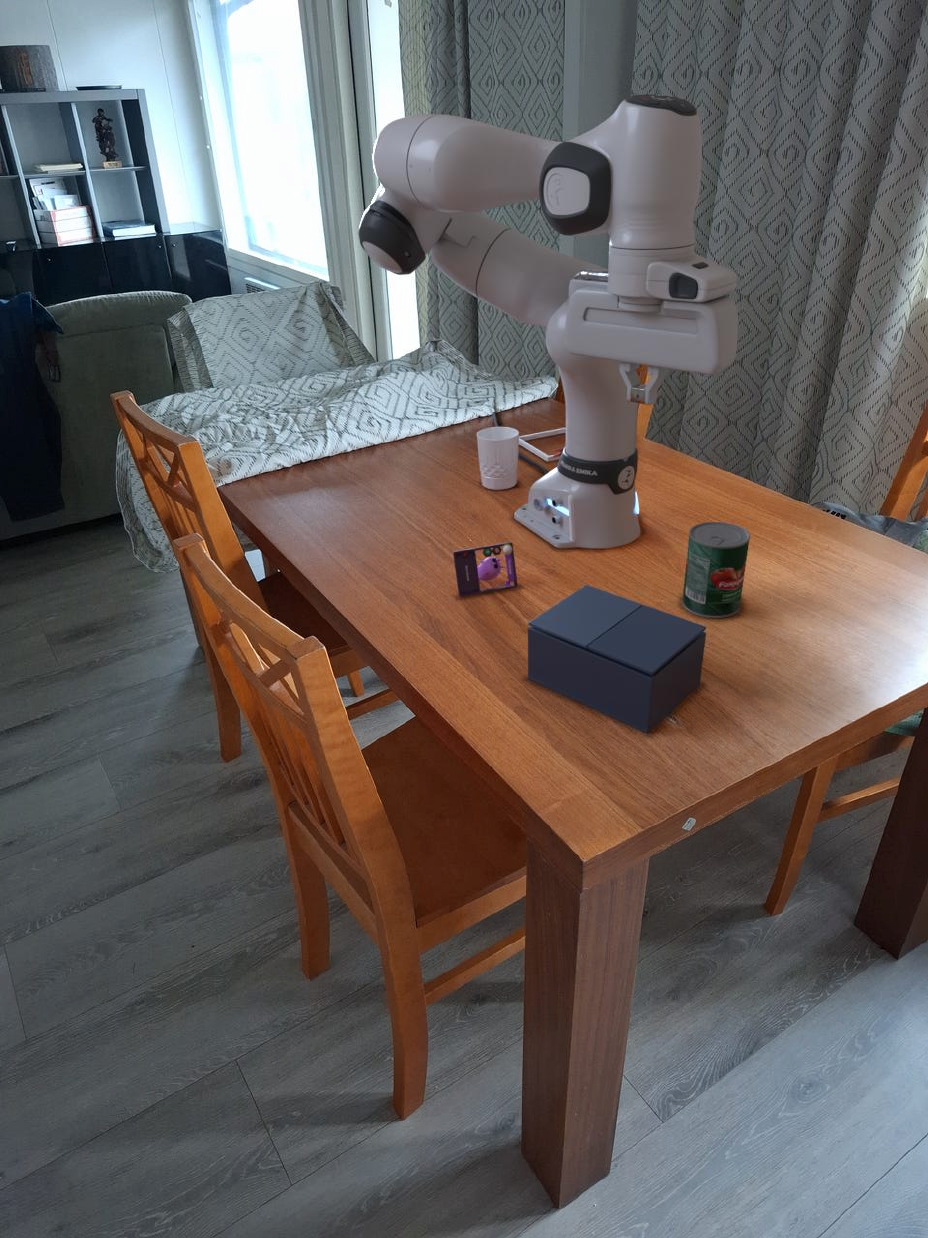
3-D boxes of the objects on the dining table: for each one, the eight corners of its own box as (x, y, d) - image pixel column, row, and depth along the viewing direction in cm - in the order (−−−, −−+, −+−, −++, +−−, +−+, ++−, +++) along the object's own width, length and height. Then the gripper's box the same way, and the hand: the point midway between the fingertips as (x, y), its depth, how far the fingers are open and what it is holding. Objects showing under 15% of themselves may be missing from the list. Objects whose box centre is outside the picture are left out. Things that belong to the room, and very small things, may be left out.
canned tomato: (691, 586, 121) (699, 517, 115) (746, 598, 117) (756, 527, 112) (674, 611, 115) (681, 539, 109) (731, 624, 111) (741, 550, 106)
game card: (454, 552, 119) (513, 542, 121) (446, 549, 124) (503, 539, 126) (460, 597, 120) (519, 587, 122) (452, 592, 125) (509, 583, 127)
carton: (527, 679, 102) (527, 622, 98) (584, 638, 110) (585, 584, 106) (647, 734, 92) (652, 672, 88) (700, 685, 100) (707, 626, 96)
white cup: (526, 480, 160) (526, 429, 155) (506, 494, 154) (505, 442, 149) (492, 473, 164) (490, 424, 159) (470, 487, 158) (468, 436, 153)
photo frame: (622, 440, 173) (547, 456, 167) (622, 446, 174) (547, 461, 168) (586, 422, 185) (514, 436, 179) (586, 427, 185) (514, 441, 179)
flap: (528, 625, 98) (528, 622, 98) (586, 587, 106) (586, 584, 106) (586, 648, 93) (586, 645, 93) (642, 607, 101) (642, 604, 101)
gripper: (553, 271, 92) (552, 394, 99) (722, 285, 80) (707, 424, 87) (586, 263, 96) (583, 382, 103) (752, 275, 84) (735, 409, 91)
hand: (641, 402), depth 95 cm, fingers closed
